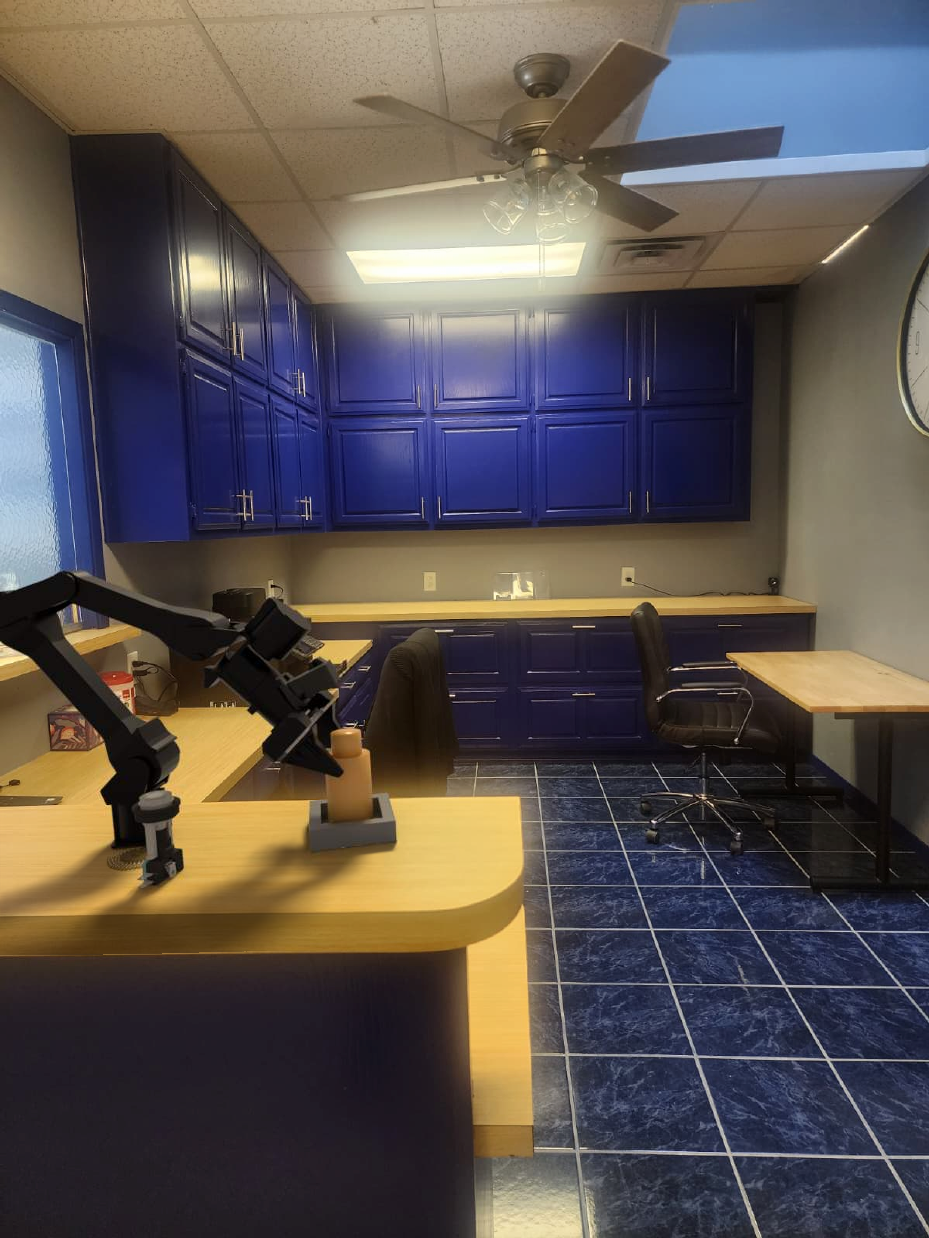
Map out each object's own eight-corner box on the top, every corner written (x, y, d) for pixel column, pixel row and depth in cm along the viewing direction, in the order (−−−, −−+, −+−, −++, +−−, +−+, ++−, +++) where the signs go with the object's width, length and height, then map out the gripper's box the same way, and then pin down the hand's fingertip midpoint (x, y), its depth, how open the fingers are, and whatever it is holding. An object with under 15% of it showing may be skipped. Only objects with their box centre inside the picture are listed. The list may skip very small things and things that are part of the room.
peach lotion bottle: (336, 838, 95) (330, 740, 93) (323, 823, 100) (317, 730, 99) (380, 828, 97) (374, 733, 96) (365, 814, 103) (360, 724, 101)
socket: (310, 851, 92) (308, 830, 92) (310, 820, 103) (309, 800, 103) (396, 841, 94) (395, 820, 94) (388, 811, 105) (387, 792, 105)
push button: (159, 894, 83) (151, 809, 81) (120, 890, 84) (112, 806, 83) (196, 868, 89) (189, 788, 88) (159, 864, 90) (151, 786, 89)
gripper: (282, 652, 87) (379, 739, 88) (315, 632, 105) (395, 705, 106) (221, 719, 88) (317, 805, 89) (265, 688, 106) (344, 759, 107)
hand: (347, 763), depth 98 cm, fingers open, 9 cm apart
